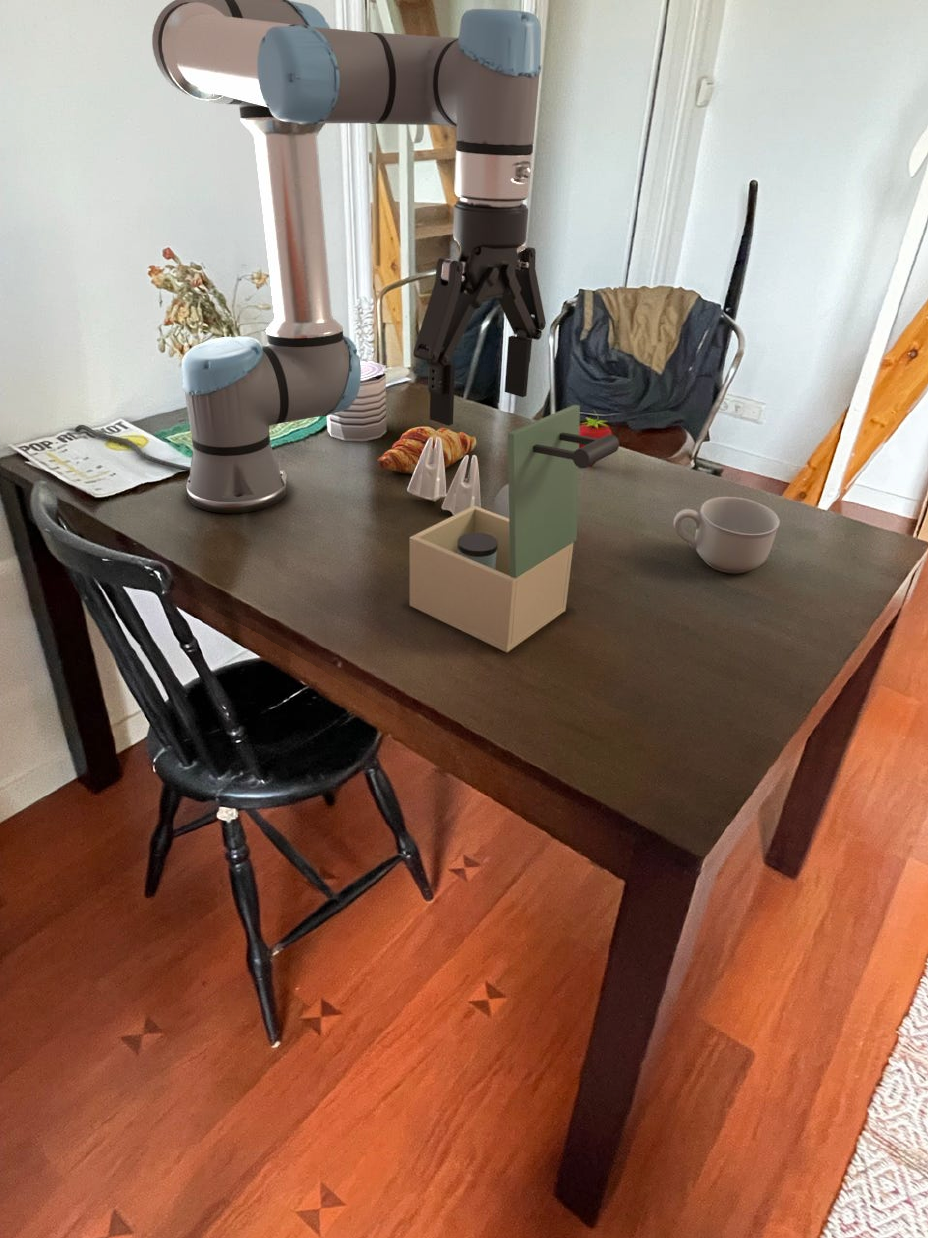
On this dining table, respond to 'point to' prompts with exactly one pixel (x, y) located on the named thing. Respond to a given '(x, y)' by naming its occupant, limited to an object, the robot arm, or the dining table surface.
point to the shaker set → (432, 480)
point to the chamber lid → (547, 485)
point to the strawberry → (593, 430)
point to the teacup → (731, 533)
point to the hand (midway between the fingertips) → (480, 407)
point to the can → (363, 408)
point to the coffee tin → (479, 548)
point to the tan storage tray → (485, 582)
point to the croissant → (413, 444)
